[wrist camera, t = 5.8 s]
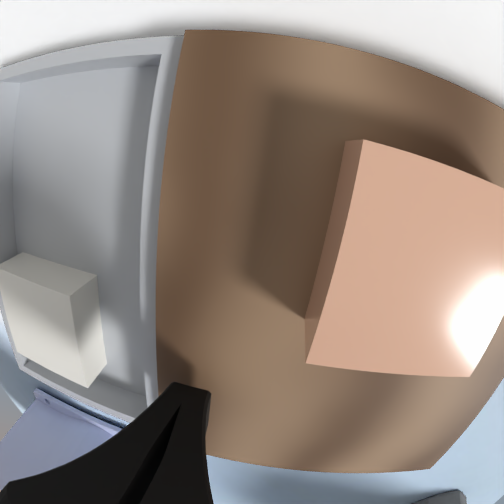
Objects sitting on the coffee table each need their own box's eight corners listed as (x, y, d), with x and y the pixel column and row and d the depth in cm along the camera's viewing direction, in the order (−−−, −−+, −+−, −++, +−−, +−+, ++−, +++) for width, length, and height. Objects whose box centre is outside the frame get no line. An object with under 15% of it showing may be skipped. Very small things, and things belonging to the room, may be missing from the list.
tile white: (87, 388, 12) (107, 363, 13) (69, 295, 10) (97, 274, 12) (17, 351, 12) (37, 333, 14) (-5, 266, 10) (22, 252, 12)
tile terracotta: (304, 319, 9) (305, 362, 7) (345, 140, 7) (363, 139, 5) (446, 339, 8) (469, 377, 6) (498, 191, 7) (540, 206, 5)
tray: (37, 351, 15) (19, 369, 13) (21, 73, 9) (-8, 71, 7) (174, 406, 14) (161, 433, 12) (204, 53, 9) (184, 35, 7)
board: (177, 407, 14) (162, 442, 12) (209, 53, 9) (185, 29, 6) (420, 436, 13) (429, 468, 11) (542, 156, 8) (580, 163, 5)
